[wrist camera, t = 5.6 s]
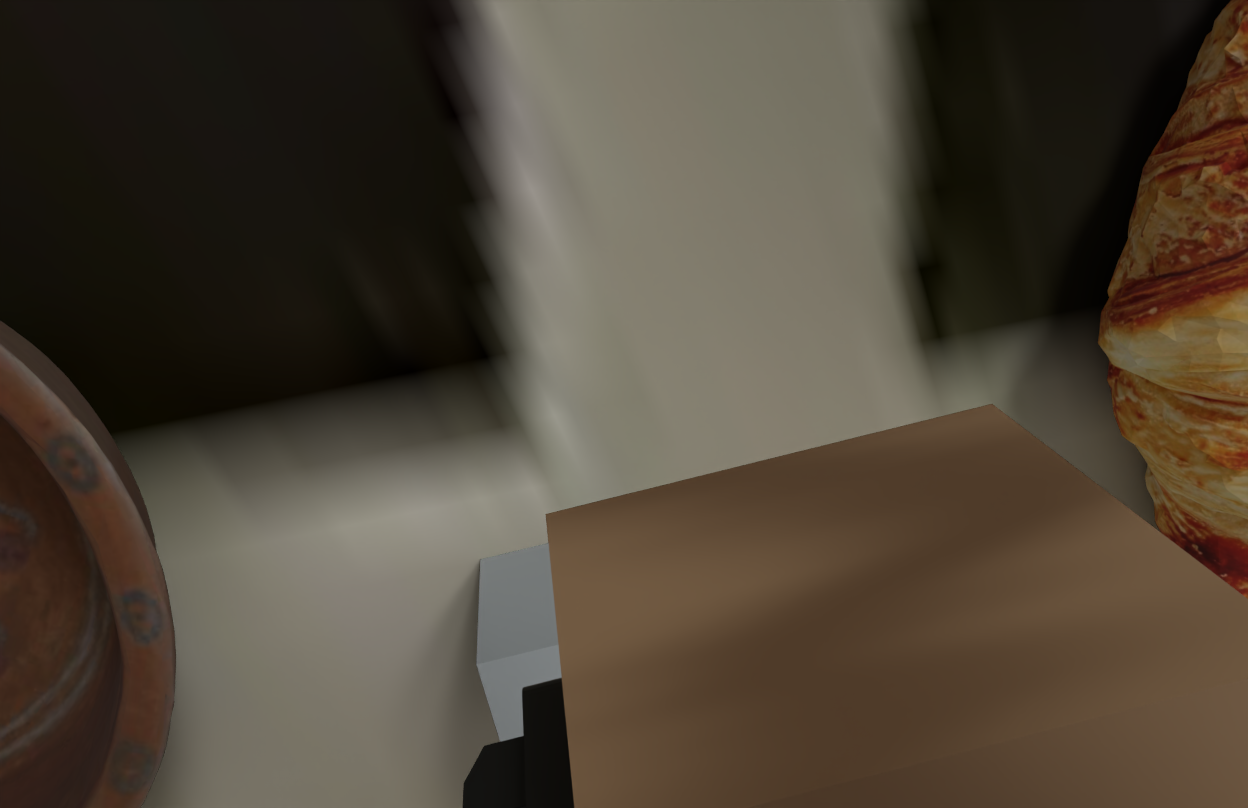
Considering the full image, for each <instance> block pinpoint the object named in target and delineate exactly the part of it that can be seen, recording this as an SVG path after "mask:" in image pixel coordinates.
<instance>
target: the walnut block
mask: <svg viewBox="0 0 1248 808" xmlns="http://www.w3.org/2000/svg"><path fill="white" fill-rule="evenodd" d="M546 523H547V533H548V543H549V553H550V564H551V574H552V584H553V594H554V604H555V615H556V625H557V635H558V645H559V655H560V666H561V676H562V686H563V696H564V706H565V717H566V727H567V737H568V747H569V757H570V768H571V778H572V788H573V798H574V808H1248V599H1247V598H1246V597H1245V596H1243V595H1242V594H1241V593H1239V592H1238V591H1237V590H1235V589H1234V588H1233V587H1232V586H1230V585H1229V584H1228V583H1226V582H1225V581H1224V580H1222V579H1221V578H1220V577H1218V576H1217V575H1216V574H1214V573H1213V572H1212V571H1211V570H1209V569H1208V568H1207V567H1205V566H1204V565H1203V564H1201V563H1200V562H1199V561H1197V560H1196V559H1195V558H1193V557H1192V556H1191V555H1190V554H1188V553H1187V552H1186V551H1184V550H1183V549H1182V548H1180V547H1179V546H1178V545H1176V544H1175V543H1174V542H1173V541H1171V540H1170V539H1169V538H1167V537H1166V536H1165V535H1163V534H1162V533H1161V532H1159V531H1158V530H1157V529H1155V528H1154V527H1153V526H1152V525H1150V524H1149V523H1148V522H1146V521H1145V520H1144V519H1142V518H1141V517H1140V516H1138V515H1137V514H1136V513H1134V512H1133V511H1132V510H1131V509H1129V508H1128V507H1127V506H1125V505H1124V504H1123V503H1121V502H1120V501H1119V500H1117V499H1116V498H1115V497H1113V496H1112V495H1111V494H1110V493H1108V492H1107V491H1106V490H1104V489H1103V488H1102V487H1100V486H1099V485H1098V484H1096V483H1095V482H1094V481H1093V480H1091V479H1090V478H1089V477H1087V476H1086V475H1085V474H1083V473H1082V472H1081V471H1079V470H1078V469H1077V468H1075V467H1074V466H1073V465H1072V464H1070V463H1069V462H1068V461H1066V460H1065V459H1064V458H1062V457H1061V456H1060V455H1058V454H1057V453H1056V452H1054V451H1053V450H1052V449H1051V448H1049V447H1048V446H1047V445H1045V444H1044V443H1043V442H1041V441H1040V440H1039V439H1037V438H1036V437H1035V436H1033V435H1032V434H1031V433H1030V432H1028V431H1027V430H1026V429H1024V428H1023V427H1022V426H1020V425H1019V424H1018V423H1016V422H1015V421H1014V420H1013V419H1011V418H1010V417H1009V416H1007V415H1006V414H1005V413H1003V412H1002V411H1001V410H999V409H998V408H997V407H995V406H994V405H993V404H989V405H985V406H981V407H977V408H973V409H969V410H965V411H961V412H957V413H953V414H949V415H945V416H941V417H937V418H933V419H929V420H925V421H921V422H917V423H913V424H909V425H905V426H900V427H896V428H892V429H888V430H884V431H880V432H876V433H872V434H868V435H864V436H860V437H856V438H852V439H848V440H844V441H840V442H836V443H832V444H828V445H824V446H820V447H816V448H811V449H807V450H803V451H799V452H795V453H791V454H787V455H783V456H779V457H775V458H771V459H767V460H763V461H759V462H755V463H751V464H747V465H743V466H739V467H735V468H731V469H727V470H722V471H718V472H714V473H710V474H706V475H702V476H698V477H694V478H690V479H686V480H682V481H678V482H674V483H670V484H666V485H662V486H658V487H654V488H650V489H646V490H642V491H638V492H634V493H629V494H625V495H621V496H617V497H613V498H609V499H605V500H601V501H597V502H593V503H589V504H585V505H581V506H577V507H573V508H569V509H565V510H561V511H557V512H553V513H549V514H546Z"/></svg>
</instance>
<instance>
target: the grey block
mask: <svg viewBox="0 0 1248 808" xmlns="http://www.w3.org/2000/svg"><path fill="white" fill-rule="evenodd" d="M476 665H477V668H478V671H479V675H480V678H481V681H482V684H483V688H484V691H485V694H486V697H487V701H488V704H489V707H490V710H491V714H492V717H493V720H494V723H495V727H496V730H497V733H498V736H499V740H500V742H501V741H505V740H509V739H513V738H517V737H521V736H523V708H522V689H523V687H526V686H530V685H534V684H538V683H542V682H546V681H550V680H554V679H558V678H562V676H561V666H560V655H559V645H558V635H557V625H556V615H555V604H554V594H553V584H552V574H551V564H550V553H549V543H546V544H542V545H538V546H534V547H530V548H526V549H522V550H518V551H513V552H509V553H505V554H501V555H497V556H493V557H489V558H485V559H480V584H479V610H478V636H477V662H476Z"/></svg>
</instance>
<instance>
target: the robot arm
mask: <svg viewBox="0 0 1248 808" xmlns="http://www.w3.org/2000/svg"><path fill="white" fill-rule="evenodd" d="M522 708H523V736H521V737H517V738H513V739H509V740H505V741H501V742H497V743H494V744H490V745H486V746H484V747H483V749H482V751H481V753H480V755H479V756H478V758H477V760H476V762H475V764H474V766H473V767H472V769H471V771H470V773H469V775H468V776H467V778H466V780H465V782H464V790H463V808H574V798H573V788H572V778H571V768H570V757H569V747H568V737H567V727H566V717H565V706H564V696H563V686H562V678H558V679H554V680H550V681H546V682H542V683H538V684H534V685H530V686H526V687H523V689H522Z"/></svg>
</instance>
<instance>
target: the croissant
mask: <svg viewBox="0 0 1248 808" xmlns="http://www.w3.org/2000/svg"><path fill="white" fill-rule="evenodd" d="M1108 295H1109V299H1108V301H1107V303H1106V305H1105V306H1104V308H1103V310H1102V312H1101V321H1100V331H1099V339H1098V344H1099V345H1100V347H1101V348H1102V349H1103V351H1104V352H1105V353H1106V355H1107V356H1108V358H1109V366H1108V377H1107V381H1108V384H1109V386H1110V389H1111V395H1112V403H1113V412H1114V416H1115V418H1116V421H1117V424H1118V427H1119V429H1120V432H1121V435H1122V436H1123V437H1124V438H1126V439H1127V440H1128V441H1130V442H1131V443H1133V444H1135V446H1136V448H1137V449H1138V451H1139V452H1140V453H1141V455H1142V456H1143V458H1144V459H1145V461H1146V462H1147V464H1148V466H1147V470H1146V474H1145V481H1146V487H1147V490H1148V491H1149V493H1150V495H1151V497H1152V499H1153V501H1154V511H1155V522H1156V524H1157V526H1158V528H1159V530H1160V532H1161V533H1162V534H1163V535H1165V536H1166V537H1167V538H1169V539H1170V540H1171V541H1173V542H1174V543H1175V544H1176V545H1178V546H1179V547H1180V548H1182V549H1183V550H1184V551H1186V552H1187V553H1188V554H1190V555H1191V556H1192V557H1193V558H1195V559H1196V560H1197V561H1199V562H1200V563H1201V564H1203V565H1204V566H1205V567H1207V568H1208V569H1209V570H1211V571H1212V572H1213V573H1214V574H1216V575H1217V576H1218V577H1220V578H1221V579H1222V580H1224V581H1225V582H1226V583H1228V584H1229V585H1230V586H1232V587H1233V588H1234V589H1235V590H1237V591H1238V592H1239V593H1241V594H1242V595H1243V596H1245V597H1246V598H1247V599H1248V0H1231V1H1230V2H1229V3H1228V4H1227V5H1226V7H1225V8H1224V9H1223V10H1222V11H1221V13H1220V14H1219V15H1218V17H1217V18H1216V20H1215V21H1214V25H1213V29H1212V31H1211V32H1210V33H1209V34H1208V35H1207V36H1206V38H1205V40H1204V42H1203V44H1202V46H1201V48H1200V50H1199V52H1198V55H1197V58H1196V61H1195V63H1194V65H1193V67H1192V68H1191V70H1190V72H1189V76H1188V81H1187V86H1186V89H1185V91H1184V93H1183V95H1182V98H1181V100H1180V103H1179V106H1178V109H1177V111H1176V112H1175V113H1174V115H1173V116H1172V117H1171V119H1170V121H1169V123H1168V125H1167V127H1166V129H1165V131H1164V133H1163V135H1162V137H1161V138H1160V140H1159V142H1158V143H1157V145H1156V146H1155V148H1154V150H1153V151H1152V153H1151V155H1150V156H1149V158H1148V160H1147V162H1146V164H1145V166H1144V167H1143V171H1142V175H1141V179H1140V184H1139V188H1138V192H1137V197H1136V201H1135V204H1134V207H1133V211H1132V214H1131V217H1130V221H1129V228H1128V240H1127V242H1126V245H1125V247H1124V249H1123V251H1122V254H1121V256H1120V258H1119V260H1118V263H1117V265H1116V268H1115V271H1114V274H1113V277H1112V279H1111V282H1110V285H1109V288H1108Z"/></svg>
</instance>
